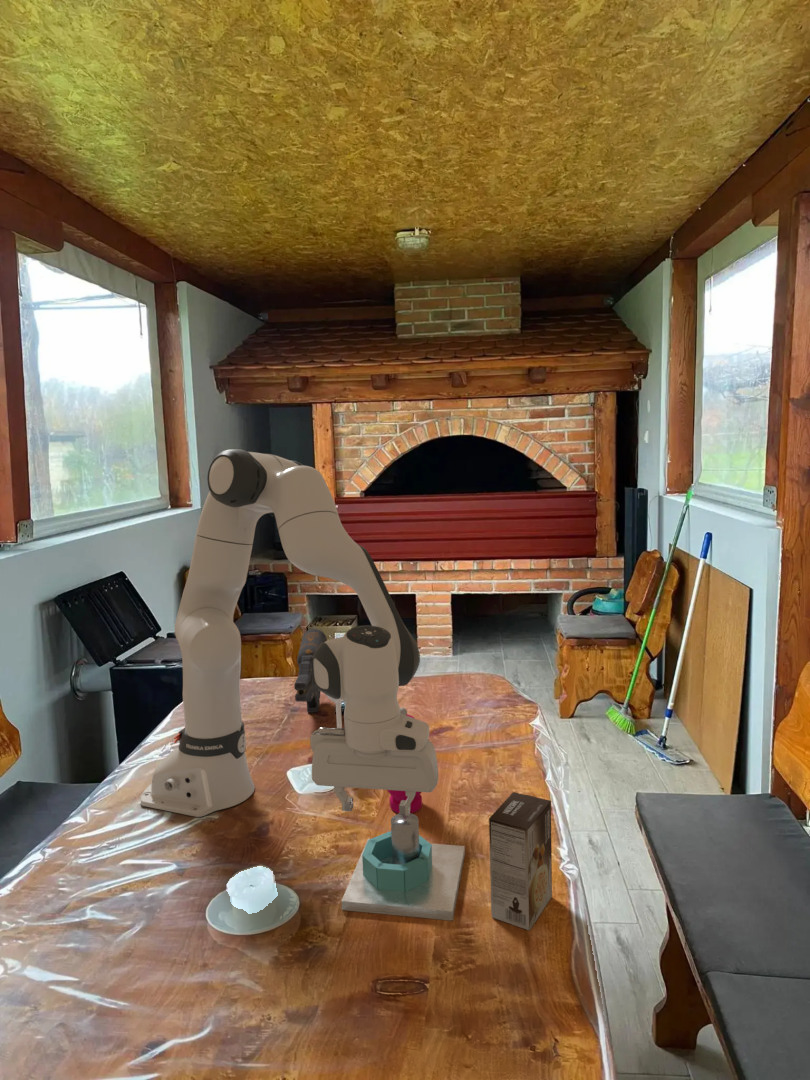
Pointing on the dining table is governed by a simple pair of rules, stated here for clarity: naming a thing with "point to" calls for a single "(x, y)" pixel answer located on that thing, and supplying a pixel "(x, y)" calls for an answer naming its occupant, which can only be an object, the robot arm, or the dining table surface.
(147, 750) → the dining table surface
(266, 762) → the dining table surface
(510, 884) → the coffee box
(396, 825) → the post stand
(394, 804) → the pepper mill
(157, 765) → the robot arm
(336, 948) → the dining table surface
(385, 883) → the ring
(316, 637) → the gun
